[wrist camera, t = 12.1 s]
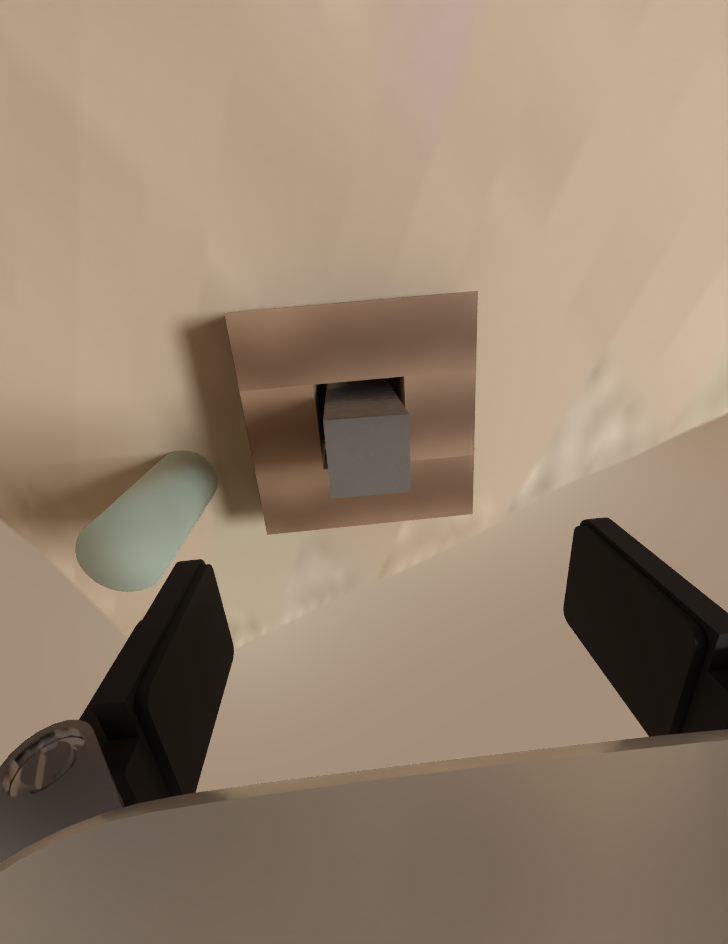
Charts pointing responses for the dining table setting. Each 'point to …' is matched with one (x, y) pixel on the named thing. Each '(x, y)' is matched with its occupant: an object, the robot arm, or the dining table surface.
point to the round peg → (147, 523)
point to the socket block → (352, 359)
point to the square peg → (366, 439)
